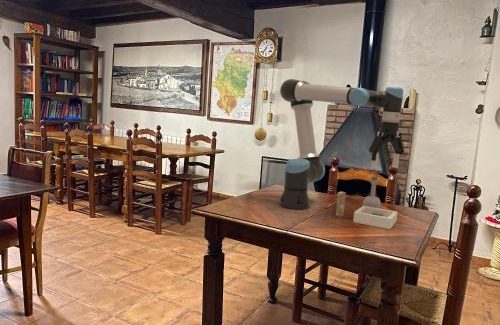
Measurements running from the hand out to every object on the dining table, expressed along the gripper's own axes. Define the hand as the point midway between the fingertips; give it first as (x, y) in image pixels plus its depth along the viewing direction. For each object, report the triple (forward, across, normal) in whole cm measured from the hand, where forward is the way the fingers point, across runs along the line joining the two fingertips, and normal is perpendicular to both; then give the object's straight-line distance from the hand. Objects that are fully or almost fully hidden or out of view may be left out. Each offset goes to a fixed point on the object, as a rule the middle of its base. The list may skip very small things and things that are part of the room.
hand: (384, 167), depth 172 cm
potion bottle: (+24, +5, +10) cm, 27 cm away
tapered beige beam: (+24, -17, +8) cm, 30 cm away
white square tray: (+24, -8, -5) cm, 25 cm away
